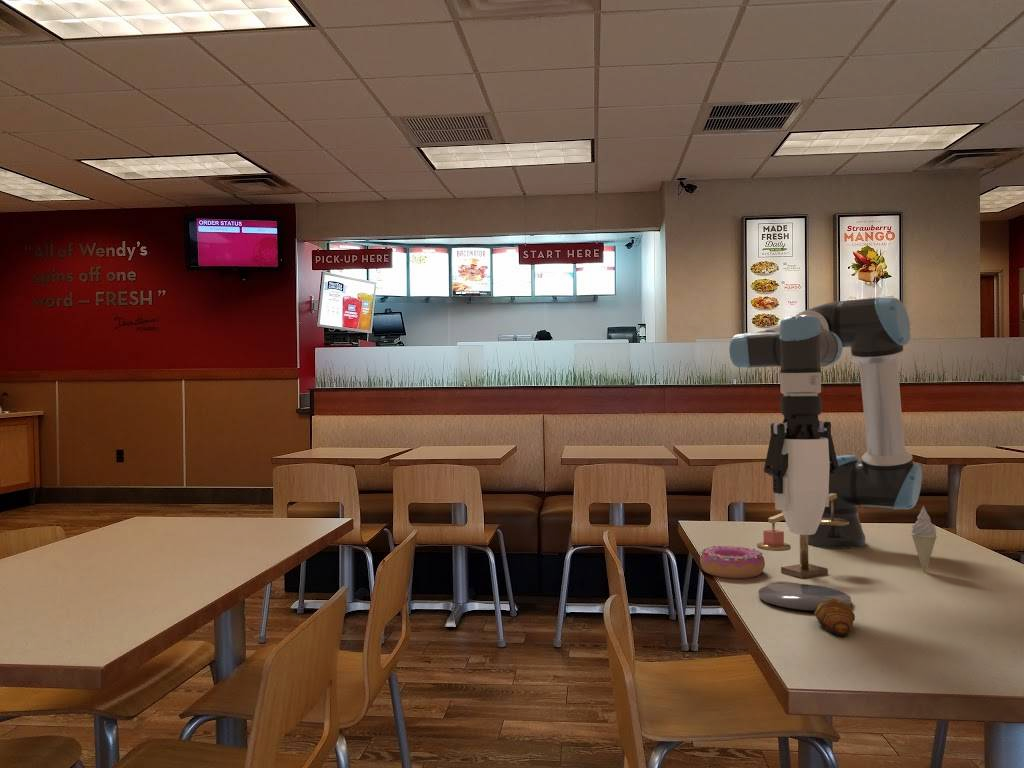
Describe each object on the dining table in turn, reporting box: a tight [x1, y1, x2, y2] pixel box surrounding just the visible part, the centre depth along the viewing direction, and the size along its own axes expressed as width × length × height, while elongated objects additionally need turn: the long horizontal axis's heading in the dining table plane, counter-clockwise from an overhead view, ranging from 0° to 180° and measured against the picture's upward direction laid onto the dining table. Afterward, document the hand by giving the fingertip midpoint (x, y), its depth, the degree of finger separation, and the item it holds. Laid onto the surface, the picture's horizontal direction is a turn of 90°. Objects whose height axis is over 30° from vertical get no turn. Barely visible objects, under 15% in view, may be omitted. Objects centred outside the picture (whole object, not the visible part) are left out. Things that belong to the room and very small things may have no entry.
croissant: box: [813, 599, 856, 637], centre depth 134 cm, size 14×7×5 cm, turn 169°
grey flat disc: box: [757, 583, 852, 612], centre depth 150 cm, size 17×17×1 cm
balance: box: [756, 493, 849, 579], centre depth 171 cm, size 25×7×17 cm, turn 116°
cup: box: [779, 437, 830, 536], centre depth 150 cm, size 10×10×22 cm
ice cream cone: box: [911, 505, 938, 573], centre depth 171 cm, size 5×5×15 cm
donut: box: [699, 545, 766, 579], centre depth 174 cm, size 14×14×5 cm
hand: (802, 508), depth 150 cm, fingers closed on cup, 10 cm apart
